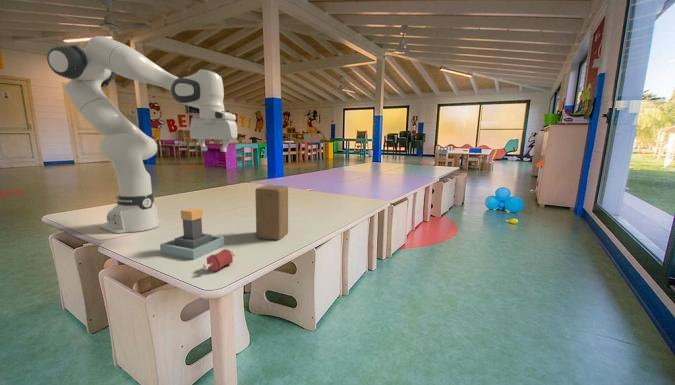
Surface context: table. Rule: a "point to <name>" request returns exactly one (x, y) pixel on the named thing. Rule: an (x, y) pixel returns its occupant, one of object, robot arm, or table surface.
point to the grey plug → (192, 223)
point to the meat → (219, 260)
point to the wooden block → (271, 211)
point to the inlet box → (192, 246)
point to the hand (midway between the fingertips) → (213, 151)
